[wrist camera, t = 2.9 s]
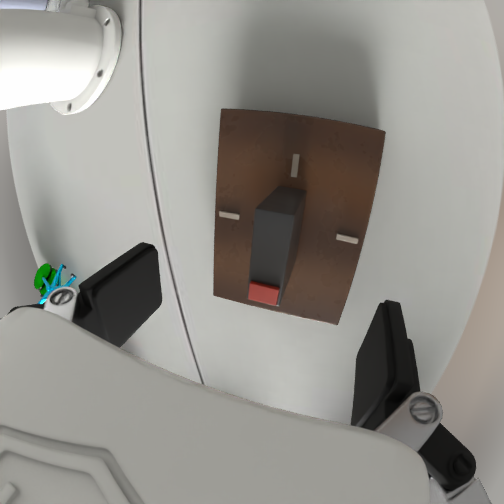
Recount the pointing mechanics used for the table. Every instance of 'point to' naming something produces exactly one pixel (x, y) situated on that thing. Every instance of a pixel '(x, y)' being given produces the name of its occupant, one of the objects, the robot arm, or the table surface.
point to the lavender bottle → (23, 4)
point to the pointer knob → (275, 244)
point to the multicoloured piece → (49, 280)
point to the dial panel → (315, 211)
